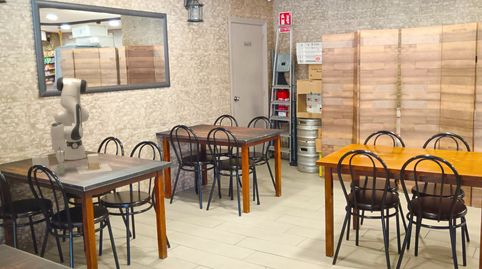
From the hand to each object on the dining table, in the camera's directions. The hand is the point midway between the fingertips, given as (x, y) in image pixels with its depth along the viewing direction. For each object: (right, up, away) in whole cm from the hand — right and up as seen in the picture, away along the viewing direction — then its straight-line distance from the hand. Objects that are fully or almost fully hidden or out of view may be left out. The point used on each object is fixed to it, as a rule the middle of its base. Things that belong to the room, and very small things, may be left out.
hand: (60, 166), depth 326 cm
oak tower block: (+20, -2, +10) cm, 22 cm away
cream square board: (+20, -3, +10) cm, 22 cm away
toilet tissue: (-19, -4, +13) cm, 23 cm away
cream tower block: (+19, +3, +9) cm, 22 cm away
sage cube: (0, -5, +1) cm, 5 cm away
